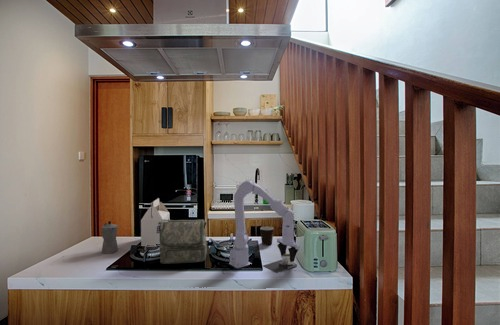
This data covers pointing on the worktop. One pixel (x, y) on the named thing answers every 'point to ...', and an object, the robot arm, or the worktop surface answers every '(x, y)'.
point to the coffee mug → (266, 235)
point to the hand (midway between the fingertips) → (287, 259)
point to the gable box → (153, 223)
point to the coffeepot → (109, 238)
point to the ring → (286, 259)
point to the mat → (275, 266)
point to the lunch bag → (182, 241)
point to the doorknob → (287, 265)
